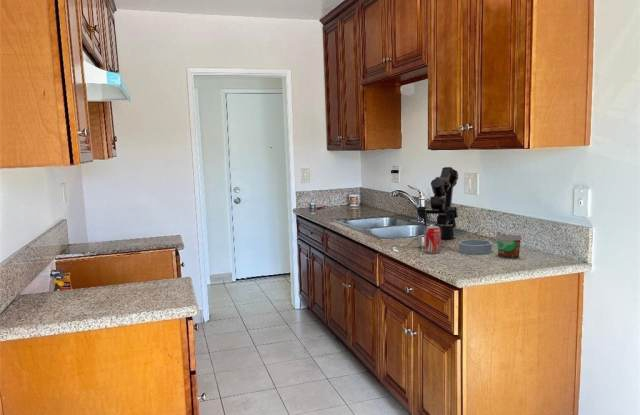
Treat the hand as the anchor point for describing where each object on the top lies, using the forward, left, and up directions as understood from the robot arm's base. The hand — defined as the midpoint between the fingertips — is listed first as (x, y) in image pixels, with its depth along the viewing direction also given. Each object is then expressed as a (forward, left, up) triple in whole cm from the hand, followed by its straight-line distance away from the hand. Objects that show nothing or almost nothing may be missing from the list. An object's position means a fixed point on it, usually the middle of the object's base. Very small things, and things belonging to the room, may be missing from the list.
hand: (434, 226), depth 232 cm
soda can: (+2, -4, -12) cm, 13 cm away
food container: (+30, +11, -12) cm, 34 cm away
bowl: (+14, +11, -11) cm, 21 cm away
